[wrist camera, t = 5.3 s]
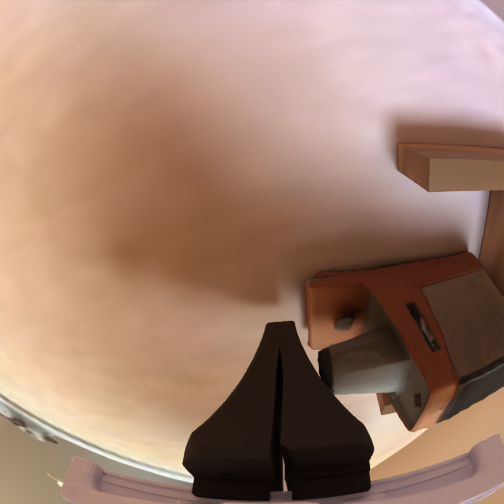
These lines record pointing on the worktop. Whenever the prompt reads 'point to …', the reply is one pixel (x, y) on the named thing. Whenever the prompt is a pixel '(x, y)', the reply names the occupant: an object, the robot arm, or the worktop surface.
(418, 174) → the cradle
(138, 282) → the worktop surface
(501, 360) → the electronic device
